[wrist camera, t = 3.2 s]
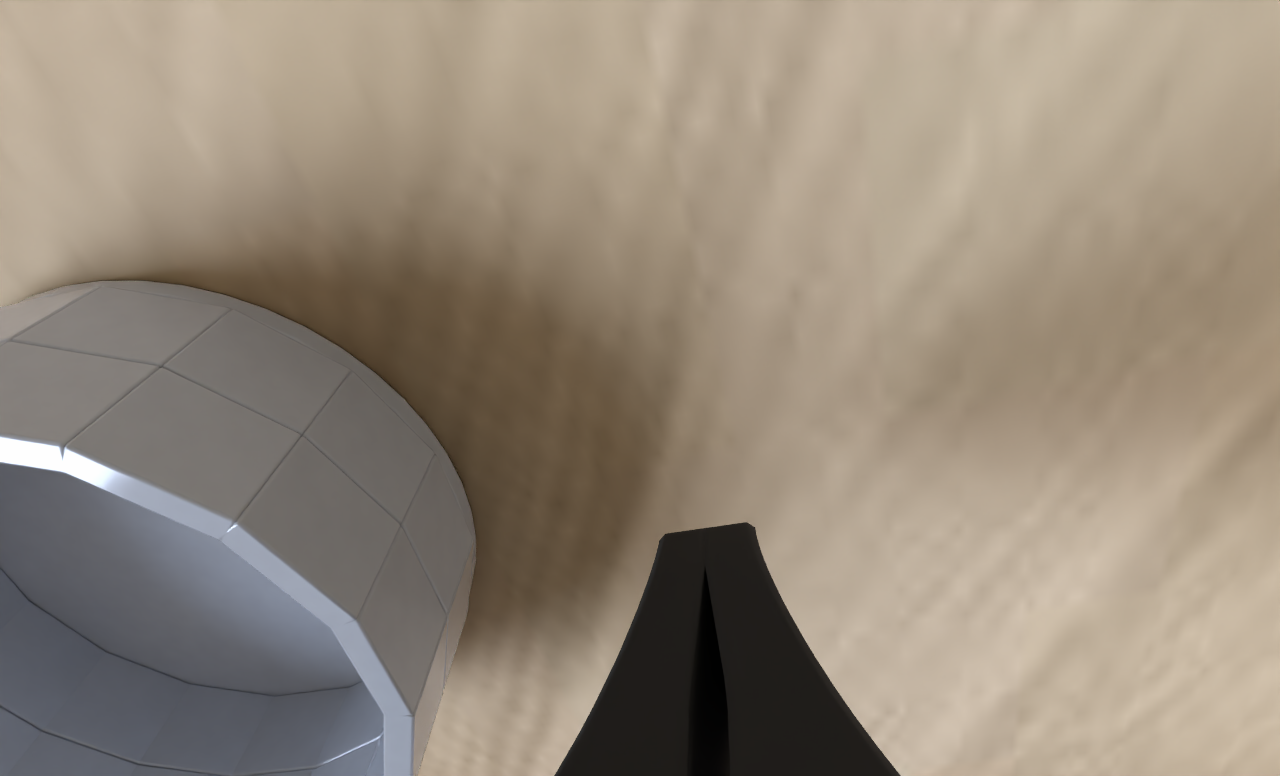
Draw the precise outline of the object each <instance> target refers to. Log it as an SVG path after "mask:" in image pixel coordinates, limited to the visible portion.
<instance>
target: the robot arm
mask: <svg viewBox="0 0 1280 776" xmlns="http://www.w3.org/2000/svg"><path fill="white" fill-rule="evenodd" d="M554 776H900V774H899V773H898V772H897V771H896V769H895V768H894V767H893V766H892V764H891V763H890V762H889V761H888V759H887V758H886V757H885V756H884V754H883V753H882V752H881V750H880V749H879V748H878V747H877V745H876V744H875V743H874V741H873V740H872V739H871V737H870V736H869V735H868V733H867V732H866V731H865V729H864V728H863V727H862V725H861V724H860V723H859V721H858V720H857V719H856V717H855V716H854V714H853V713H852V712H851V710H850V709H849V707H848V706H847V704H846V703H845V702H844V700H843V699H842V697H841V696H840V694H839V693H838V691H837V690H836V688H835V687H834V686H833V684H832V682H831V681H830V679H829V678H828V676H827V675H826V673H825V672H824V670H823V669H822V667H821V666H820V664H819V662H818V661H817V659H816V658H815V656H814V654H813V653H812V651H811V650H810V648H809V646H808V645H807V643H806V641H805V640H804V638H803V636H802V634H801V633H800V631H799V629H798V627H797V625H796V624H795V622H794V620H793V618H792V617H791V615H790V613H789V611H788V609H787V608H786V606H785V604H784V602H783V600H782V598H781V596H780V594H779V592H778V590H777V588H776V586H775V584H774V581H773V579H772V577H771V575H770V573H769V571H768V568H767V566H766V563H765V561H764V558H763V555H762V553H761V550H760V547H759V543H758V540H757V536H756V530H755V527H753V526H752V525H750V524H748V523H747V522H745V523H738V524H731V525H724V526H717V527H710V528H703V529H696V530H689V531H682V532H675V533H668V534H665V535H664V536H663V537H662V538H661V540H660V541H659V545H658V549H657V553H656V557H655V560H654V563H653V567H652V570H651V573H650V576H649V579H648V582H647V585H646V587H645V590H644V593H643V596H642V598H641V601H640V604H639V607H638V609H637V612H636V614H635V616H634V619H633V621H632V624H631V626H630V629H629V631H628V633H627V636H626V638H625V641H624V643H623V645H622V648H621V650H620V652H619V655H618V657H617V659H616V661H615V663H614V665H613V667H612V669H611V672H610V674H609V676H608V678H607V680H606V682H605V684H604V686H603V688H602V690H601V692H600V694H599V696H598V698H597V700H596V702H595V704H594V706H593V708H592V710H591V712H590V714H589V716H588V718H587V720H586V722H585V723H584V725H583V727H582V729H581V731H580V733H579V734H578V736H577V738H576V740H575V742H574V743H573V745H572V747H571V749H570V750H569V752H568V754H567V755H566V757H565V759H564V760H563V762H562V764H561V766H560V767H559V769H558V771H557V772H556V774H555V775H554Z"/></svg>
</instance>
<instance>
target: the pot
mask: <svg viewBox="0 0 1280 776" xmlns="http://www.w3.org/2000/svg"><path fill="white" fill-rule="evenodd" d="M475 564H476V534H475V529H474V523H473V517H472V512H471V508H470V505H469V502H468V499H467V496H466V493H465V491H464V488H463V485H462V482H461V480H460V478H459V476H458V474H457V472H456V470H455V468H454V466H453V464H452V462H451V460H450V458H449V456H448V455H447V453H446V451H445V450H444V449H443V447H442V446H441V444H440V443H439V441H438V440H437V438H436V437H435V436H434V434H433V433H432V431H431V430H430V428H429V427H428V426H427V424H426V423H425V422H424V421H423V420H422V419H421V418H420V416H419V415H418V414H417V413H416V412H415V411H414V410H413V409H412V407H411V406H410V405H409V404H408V403H407V402H406V401H405V399H404V398H403V397H401V396H400V395H399V394H398V393H397V392H396V391H395V390H394V389H393V388H392V387H390V386H389V385H388V384H387V383H386V382H385V381H384V380H383V379H382V378H381V377H379V376H378V375H377V374H376V373H375V372H374V371H372V370H371V369H370V368H368V367H367V366H365V365H364V364H363V363H361V362H360V361H359V360H357V359H356V358H355V357H353V356H352V355H350V354H349V353H348V352H346V351H345V350H344V349H342V348H341V347H339V346H337V345H335V344H334V343H332V342H330V341H329V340H327V339H325V338H324V337H322V336H320V335H318V334H317V333H315V332H313V331H312V330H310V329H308V328H307V327H305V326H302V325H300V324H298V323H296V322H294V321H292V320H289V319H287V318H285V317H283V316H281V315H279V314H276V313H274V312H272V311H270V310H268V309H265V308H262V307H259V306H256V305H254V304H251V303H248V302H245V301H242V300H239V299H236V298H233V297H230V296H227V295H224V294H219V293H215V292H211V291H206V290H202V289H198V288H193V287H189V286H185V285H177V284H168V283H159V282H150V281H97V282H90V283H82V284H75V285H68V286H63V287H59V288H56V289H53V290H49V291H46V292H43V293H39V294H36V295H33V296H30V297H28V298H26V299H24V300H22V301H20V302H18V303H16V304H11V305H7V306H2V307H0V776H418V772H419V769H420V766H421V763H422V759H423V756H424V753H425V750H426V746H427V743H428V740H429V737H430V733H431V730H432V727H433V724H434V720H435V717H436V714H437V711H438V708H439V704H440V701H441V698H442V695H443V690H444V688H445V685H446V682H447V678H448V675H449V672H450V669H451V665H452V662H453V659H454V656H455V652H456V649H457V646H458V643H459V639H460V636H461V633H462V630H463V626H464V623H465V620H466V617H467V614H468V605H469V593H470V589H471V586H472V581H473V576H474V570H475Z"/></svg>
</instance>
